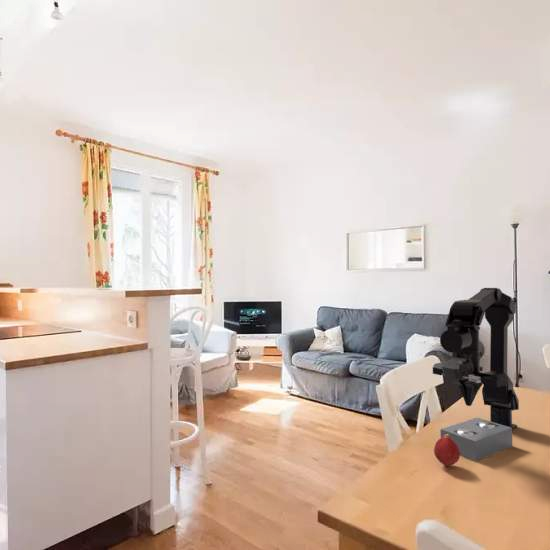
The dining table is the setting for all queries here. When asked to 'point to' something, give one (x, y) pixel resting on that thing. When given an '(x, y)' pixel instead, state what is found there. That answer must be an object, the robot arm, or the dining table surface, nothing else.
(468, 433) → the peg
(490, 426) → the peg
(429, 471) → the dining table surface
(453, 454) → the onion
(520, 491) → the dining table surface
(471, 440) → the socket block
